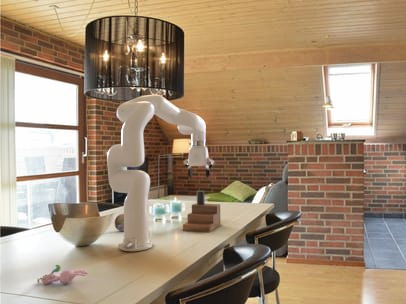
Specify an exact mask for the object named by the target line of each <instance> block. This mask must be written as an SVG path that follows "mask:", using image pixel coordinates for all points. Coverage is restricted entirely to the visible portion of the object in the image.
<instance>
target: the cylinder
mask: <svg viewBox="0 0 406 304" xmlns="http://www.w3.org/2000/svg"><path fill="white" fill-rule="evenodd" d="M196 203H197V205H204V204H206V202H205V190H197V191H196Z"/></svg>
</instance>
